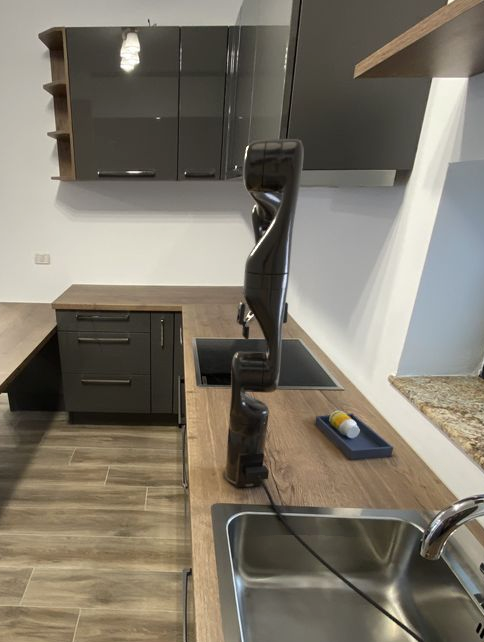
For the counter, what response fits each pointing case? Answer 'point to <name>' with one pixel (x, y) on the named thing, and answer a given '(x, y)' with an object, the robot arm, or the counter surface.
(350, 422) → the supplement bottle
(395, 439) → the counter surface
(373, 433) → the tray
